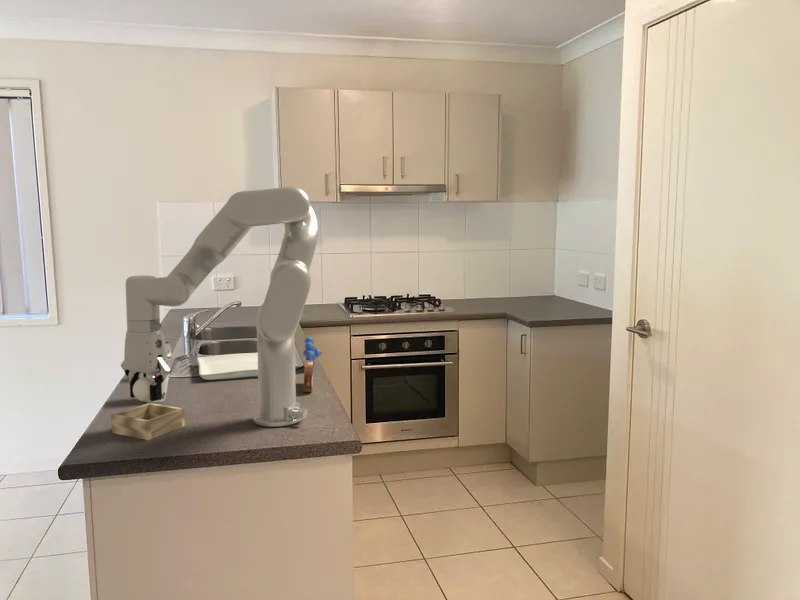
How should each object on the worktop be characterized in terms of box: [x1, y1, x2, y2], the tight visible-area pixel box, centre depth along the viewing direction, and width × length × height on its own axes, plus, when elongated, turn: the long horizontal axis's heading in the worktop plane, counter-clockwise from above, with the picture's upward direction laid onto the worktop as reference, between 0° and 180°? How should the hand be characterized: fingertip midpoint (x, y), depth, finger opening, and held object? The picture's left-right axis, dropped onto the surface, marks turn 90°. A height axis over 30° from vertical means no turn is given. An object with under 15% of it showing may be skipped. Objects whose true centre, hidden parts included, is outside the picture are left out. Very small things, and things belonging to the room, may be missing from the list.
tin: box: [302, 359, 315, 393], centre depth 201 cm, size 15×3×8 cm, turn 6°
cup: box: [140, 364, 170, 404], centre depth 188 cm, size 8×8×10 cm
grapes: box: [302, 336, 323, 367], centre depth 226 cm, size 12×7×12 cm, turn 8°
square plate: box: [196, 352, 258, 381], centre depth 225 cm, size 27×27×4 cm
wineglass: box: [165, 341, 172, 381], centre depth 213 cm, size 6×6×12 cm
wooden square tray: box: [110, 402, 186, 441], centre depth 162 cm, size 12×12×4 cm
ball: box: [133, 377, 152, 403], centre depth 161 cm, size 6×6×6 cm
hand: (146, 397), depth 161 cm, fingers closed on ball, 5 cm apart
